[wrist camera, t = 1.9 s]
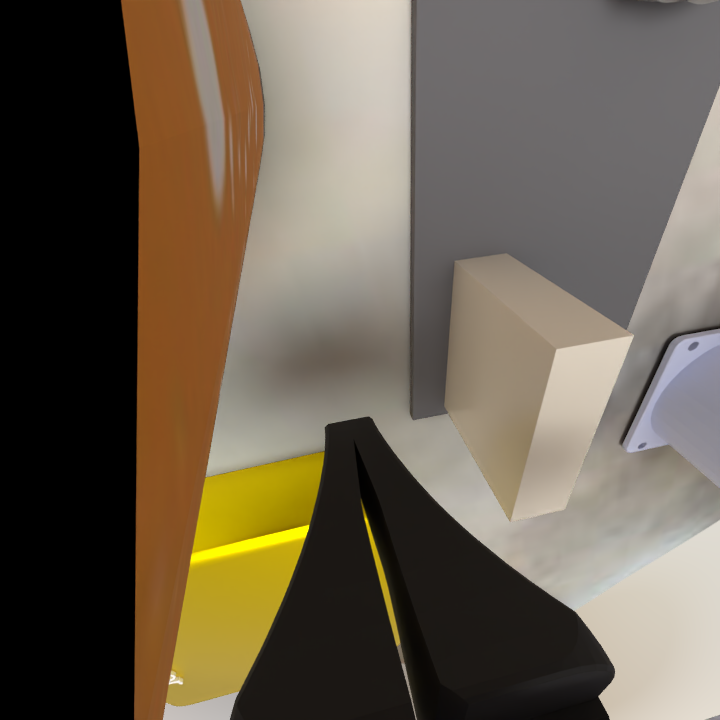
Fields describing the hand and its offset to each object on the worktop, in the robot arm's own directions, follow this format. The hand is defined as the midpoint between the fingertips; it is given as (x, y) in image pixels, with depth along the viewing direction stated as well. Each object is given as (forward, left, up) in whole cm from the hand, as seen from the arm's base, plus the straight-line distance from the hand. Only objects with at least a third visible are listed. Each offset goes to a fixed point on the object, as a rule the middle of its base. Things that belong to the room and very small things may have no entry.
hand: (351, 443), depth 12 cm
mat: (-8, -6, -5) cm, 11 cm away
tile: (-6, 0, -4) cm, 7 cm away
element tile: (+6, +13, -6) cm, 15 cm away
